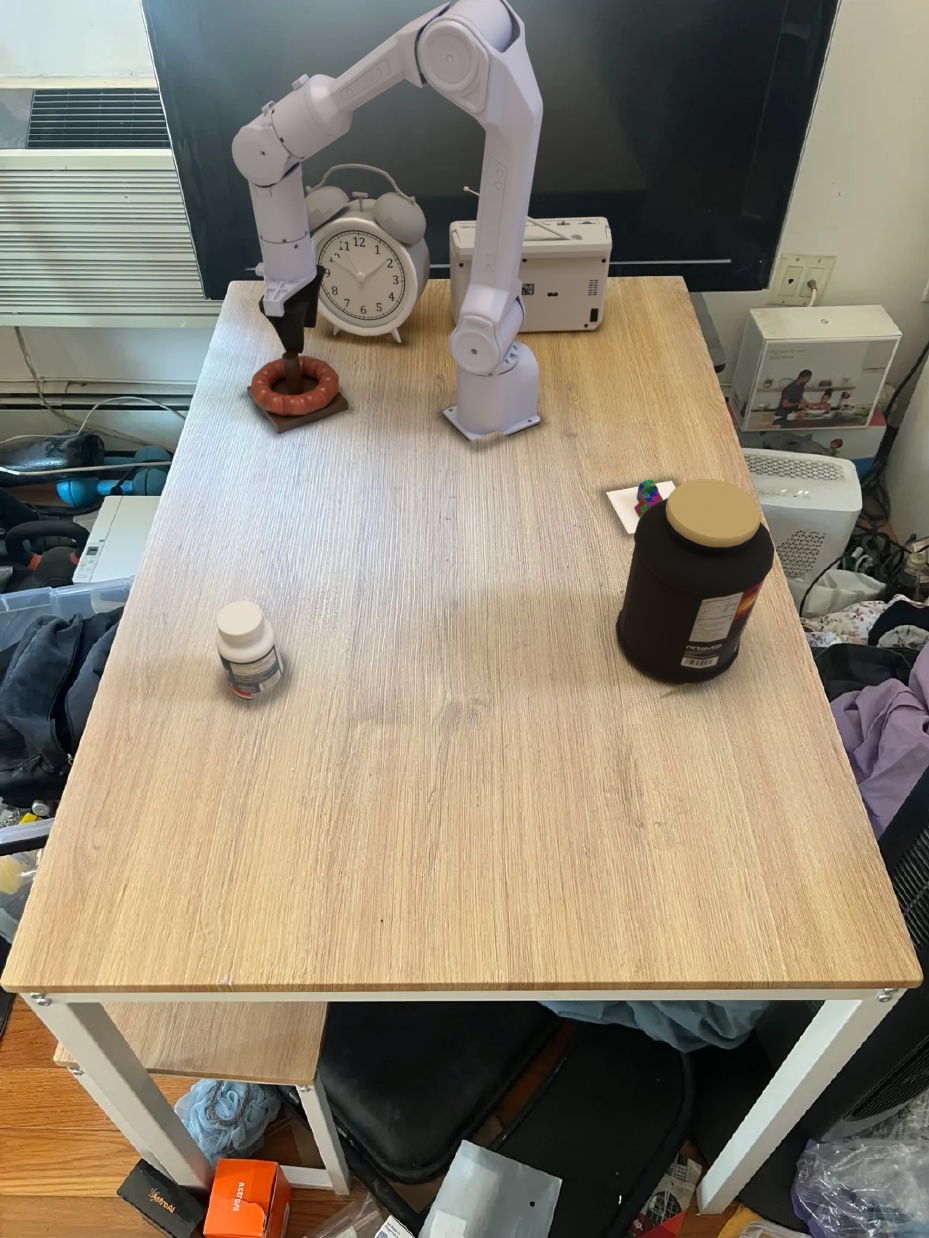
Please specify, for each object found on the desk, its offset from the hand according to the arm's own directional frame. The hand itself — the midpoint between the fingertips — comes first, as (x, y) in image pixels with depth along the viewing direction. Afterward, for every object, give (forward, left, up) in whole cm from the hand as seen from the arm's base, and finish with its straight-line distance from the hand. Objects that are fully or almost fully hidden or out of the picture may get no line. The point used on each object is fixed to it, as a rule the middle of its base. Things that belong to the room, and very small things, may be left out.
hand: (301, 338), depth 113 cm
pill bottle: (+25, +41, -7) cm, 48 cm away
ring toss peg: (+3, +3, -6) cm, 8 cm away
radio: (-32, +3, -7) cm, 33 cm away
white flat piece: (-22, +42, -7) cm, 48 cm away
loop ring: (+3, +3, -4) cm, 6 cm away
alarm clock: (-13, -7, -7) cm, 16 cm away
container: (-11, +59, -7) cm, 60 cm away
